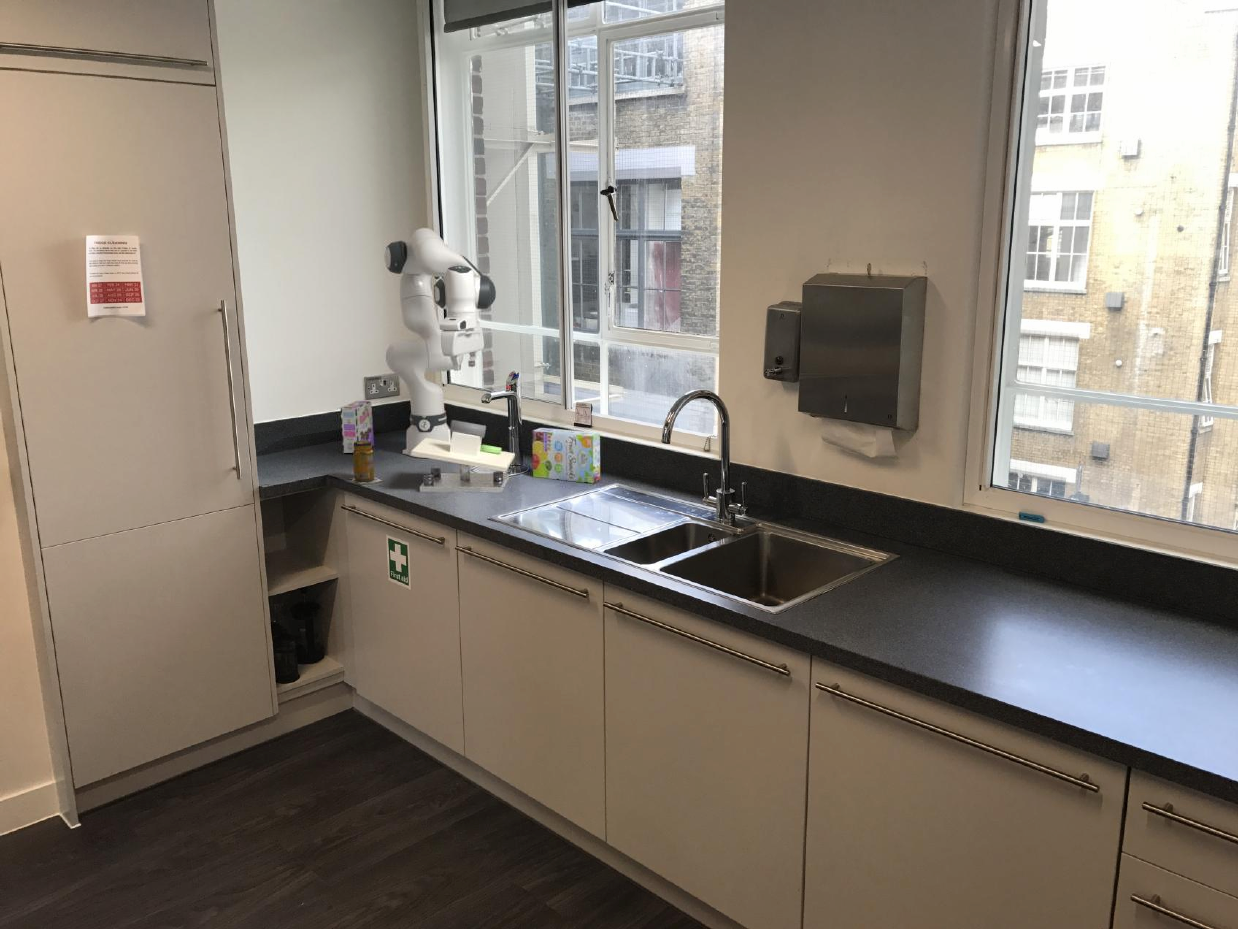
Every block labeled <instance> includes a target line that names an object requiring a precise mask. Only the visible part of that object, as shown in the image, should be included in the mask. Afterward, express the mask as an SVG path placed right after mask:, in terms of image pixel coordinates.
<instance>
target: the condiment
mask: <svg viewBox="0 0 1238 929" xmlns="http://www.w3.org/2000/svg"><path fill="white" fill-rule="evenodd" d="M372 448H373V447H371V442H370V441H356V442H354V451H353V454H352V460H353V461H352V462H353V475H354V476H353V478H351V479H355V480H350V481H352V482H354V483H356V484H360V485H366V484H372V483H373V484H374V483H378V482H383V480H382V479H380V478H377V477H375V464H374V462H375V460H374V451H373V449H372ZM374 477H375V479H377V480H374ZM358 482H360V483H358ZM361 482H368V483H361Z"/></svg>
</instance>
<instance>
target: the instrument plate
mask: <svg viewBox="0 0 1238 929" xmlns="http://www.w3.org/2000/svg"><path fill="white" fill-rule="evenodd" d="M449 429H450V432H451V442H447V441H441V440H435V439H430V438H425V439H424V440H423V441H422V442H421V443H420V444H419V445H417V446H416V447H415V448H414V449H413V450H412V452H411V455H414V456H420V457H419V458H421V457H425V458H427V459H432V460H438V461H443V462H448V463H449V462H450V463H455V464H459V465H460V464H465V465H470V467H471V466H472V467H476V468H484V469H489V470H495V471H501V472H507V471H508V469H509V467H510V466H511V464H512V462H513V461H514V459H515V457H516V453H515V452H508V451H502V447H499V446H498V447H497V446H493V445H487V444H482V439H483V438H485V435H486V430H487V425H484V424H483V425H482V424H477V423H472V422H471V423H470V422H467V421H460V420H455V419H452V420H451V422H450V427H449ZM425 458H424V459H425Z"/></svg>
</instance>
